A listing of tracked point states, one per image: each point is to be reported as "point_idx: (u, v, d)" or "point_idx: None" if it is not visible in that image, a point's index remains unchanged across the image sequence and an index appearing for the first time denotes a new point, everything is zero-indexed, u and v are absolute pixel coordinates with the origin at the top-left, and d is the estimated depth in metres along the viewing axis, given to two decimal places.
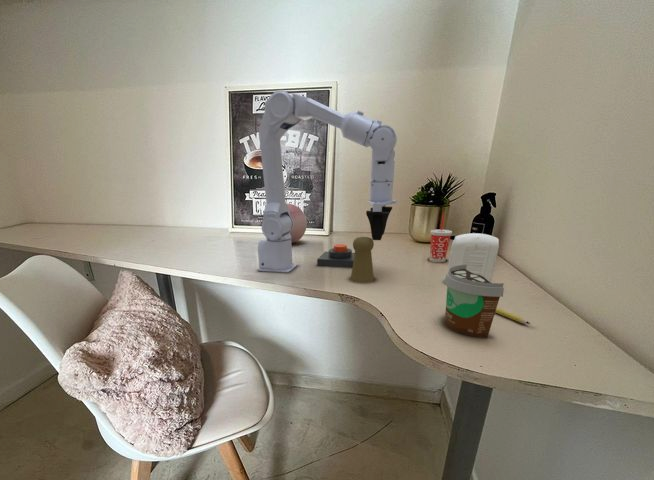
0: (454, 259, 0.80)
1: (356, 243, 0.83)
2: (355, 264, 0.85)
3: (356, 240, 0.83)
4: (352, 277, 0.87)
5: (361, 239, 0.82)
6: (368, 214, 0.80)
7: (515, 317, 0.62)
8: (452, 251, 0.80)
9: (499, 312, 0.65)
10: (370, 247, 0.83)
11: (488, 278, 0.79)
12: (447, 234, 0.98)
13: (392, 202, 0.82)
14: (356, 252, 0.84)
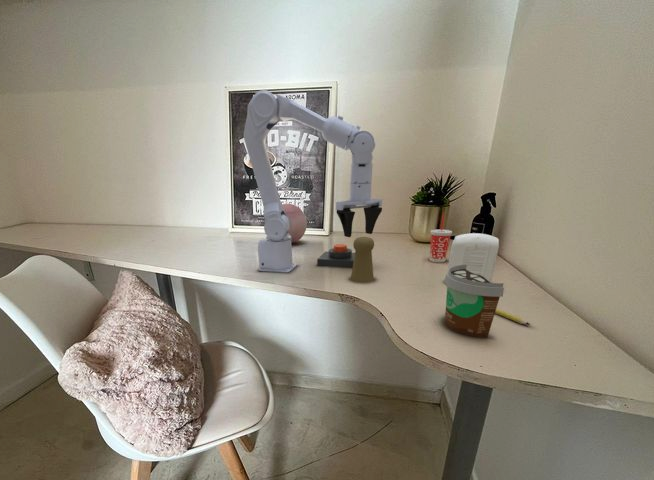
0: (454, 259, 0.80)
1: (357, 242, 0.83)
2: (355, 264, 0.85)
3: (357, 240, 0.83)
4: (352, 277, 0.87)
5: (362, 239, 0.83)
6: (337, 212, 0.90)
7: (515, 318, 0.62)
8: (452, 251, 0.80)
9: (499, 313, 0.65)
10: (370, 247, 0.83)
11: (488, 278, 0.79)
12: (447, 234, 0.98)
13: (364, 203, 0.87)
14: (356, 252, 0.84)
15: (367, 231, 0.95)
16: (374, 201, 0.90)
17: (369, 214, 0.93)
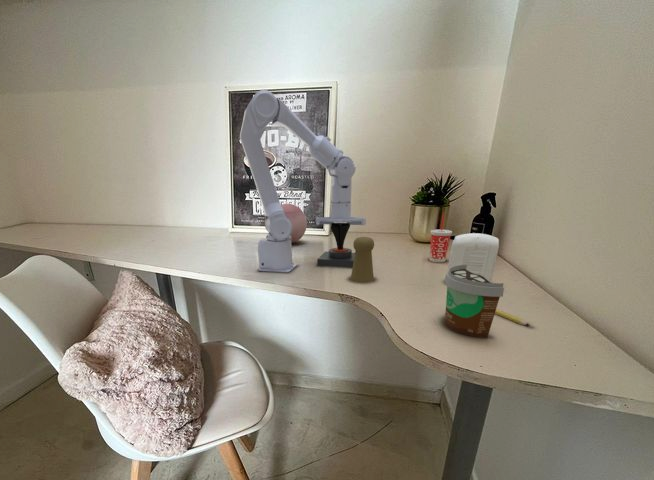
0: (454, 259, 0.80)
1: (357, 242, 0.83)
2: (355, 264, 0.85)
3: (357, 240, 0.83)
4: (352, 277, 0.87)
5: (362, 239, 0.83)
6: None
7: (515, 319, 0.62)
8: (452, 251, 0.80)
9: (499, 314, 0.65)
10: (370, 247, 0.83)
11: (488, 278, 0.79)
12: (447, 234, 0.98)
13: (335, 220, 0.96)
14: (356, 252, 0.84)
15: None
16: (350, 219, 0.96)
17: None
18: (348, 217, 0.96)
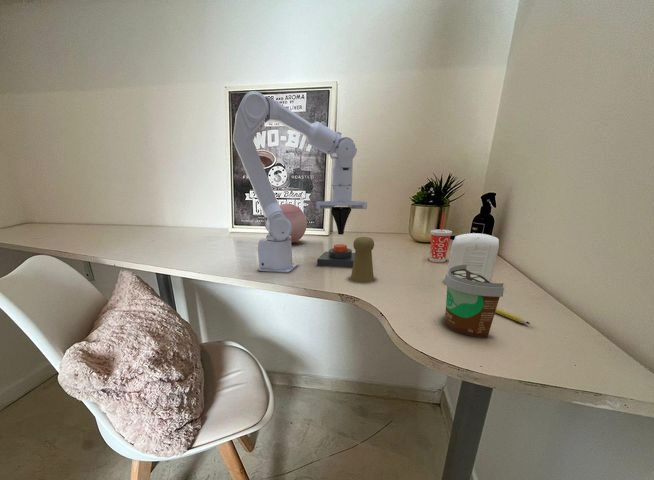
0: (454, 259, 0.80)
1: (357, 242, 0.83)
2: (355, 264, 0.85)
3: (357, 240, 0.83)
4: (352, 277, 0.87)
5: (362, 239, 0.83)
6: None
7: (515, 317, 0.62)
8: (452, 251, 0.80)
9: (499, 312, 0.65)
10: (370, 247, 0.83)
11: (488, 278, 0.79)
12: (447, 234, 0.98)
13: (335, 204, 0.94)
14: (356, 252, 0.84)
15: None
16: (351, 203, 0.94)
17: None
18: (349, 201, 0.94)
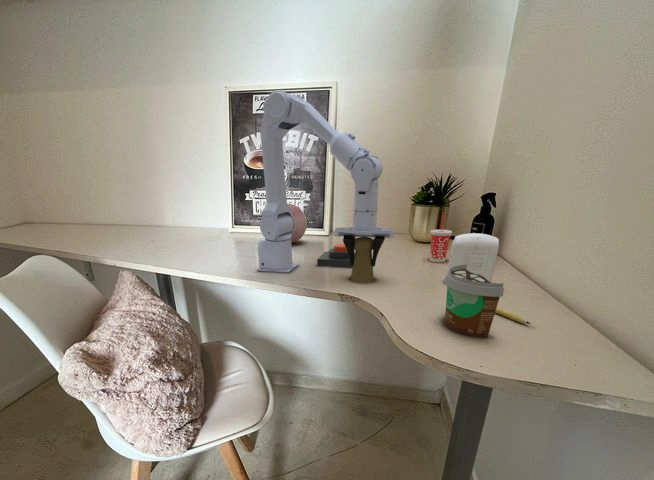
0: (454, 259, 0.80)
1: (357, 242, 0.83)
2: (355, 264, 0.85)
3: (357, 240, 0.83)
4: (352, 277, 0.87)
5: (362, 239, 0.83)
6: None
7: (515, 317, 0.62)
8: (452, 251, 0.80)
9: (499, 312, 0.65)
10: (371, 247, 0.83)
11: (488, 278, 0.79)
12: (447, 234, 0.98)
13: (357, 232, 0.81)
14: (356, 252, 0.84)
15: None
16: (376, 231, 0.80)
17: None
18: (373, 228, 0.81)
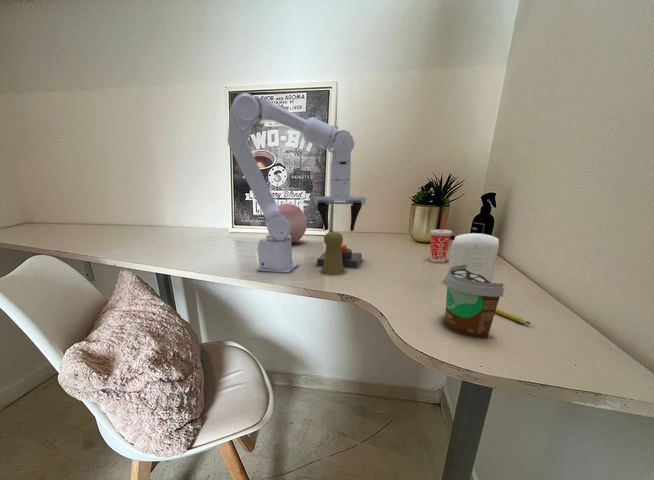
0: (454, 259, 0.80)
1: (326, 237, 0.90)
2: (326, 257, 0.92)
3: (326, 235, 0.90)
4: (323, 270, 0.94)
5: (331, 234, 0.89)
6: None
7: (515, 317, 0.62)
8: (452, 251, 0.80)
9: (499, 312, 0.65)
10: (339, 242, 0.90)
11: (488, 278, 0.79)
12: (447, 234, 0.98)
13: None
14: (327, 246, 0.91)
15: None
16: (350, 198, 0.91)
17: None
18: (347, 196, 0.92)
